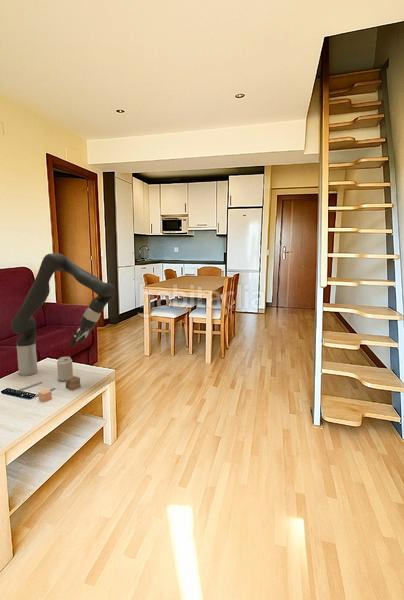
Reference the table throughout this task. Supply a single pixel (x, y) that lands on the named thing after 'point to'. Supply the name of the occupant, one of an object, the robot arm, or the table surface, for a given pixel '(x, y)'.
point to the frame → (32, 386)
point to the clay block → (45, 395)
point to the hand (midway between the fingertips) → (75, 344)
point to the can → (64, 368)
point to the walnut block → (72, 382)
